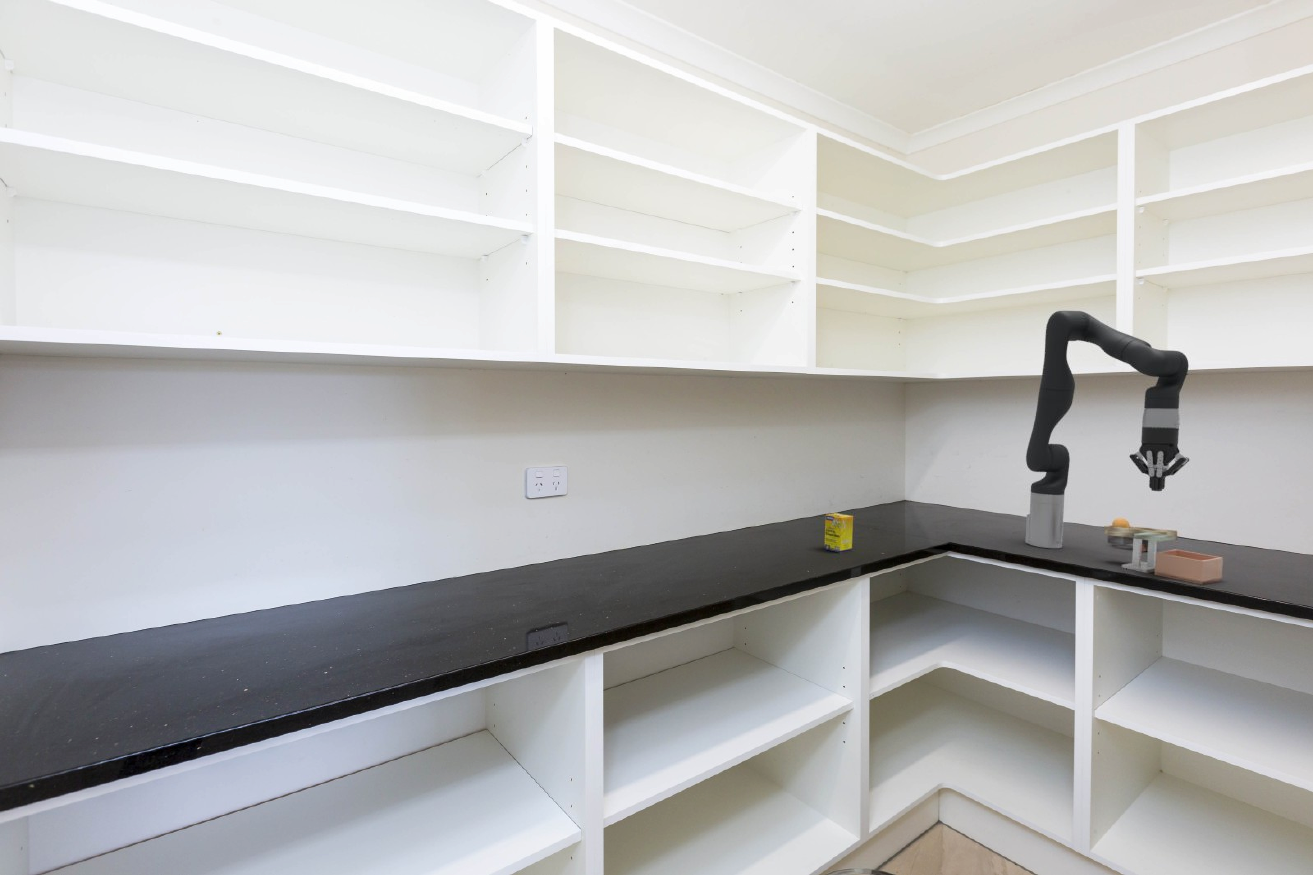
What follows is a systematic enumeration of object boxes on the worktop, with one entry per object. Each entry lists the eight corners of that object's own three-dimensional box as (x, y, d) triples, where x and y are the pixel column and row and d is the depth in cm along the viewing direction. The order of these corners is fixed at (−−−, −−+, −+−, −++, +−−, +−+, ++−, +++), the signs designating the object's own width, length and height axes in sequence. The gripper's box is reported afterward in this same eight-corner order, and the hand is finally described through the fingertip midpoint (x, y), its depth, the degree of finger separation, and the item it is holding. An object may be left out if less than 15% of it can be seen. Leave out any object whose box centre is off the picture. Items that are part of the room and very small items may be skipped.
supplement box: (824, 549, 186) (824, 514, 185) (836, 547, 189) (837, 512, 189) (840, 553, 181) (841, 517, 180) (852, 550, 184) (853, 515, 184)
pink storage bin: (1154, 574, 162) (1155, 552, 162) (1174, 570, 166) (1175, 549, 166) (1202, 584, 153) (1203, 561, 152) (1221, 580, 157) (1222, 557, 157)
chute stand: (1121, 567, 169) (1123, 531, 168) (1141, 563, 173) (1143, 528, 173) (1146, 573, 163) (1148, 535, 163) (1166, 569, 168) (1168, 532, 168)
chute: (1090, 544, 171) (1090, 528, 171) (1116, 541, 177) (1116, 524, 177) (1160, 553, 156) (1160, 535, 156) (1186, 549, 162) (1186, 531, 162)
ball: (1109, 532, 174) (1108, 518, 175) (1117, 531, 176) (1116, 517, 176) (1125, 533, 171) (1124, 519, 171) (1133, 532, 172) (1131, 518, 173)
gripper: (1123, 425, 163) (1120, 488, 164) (1183, 426, 152) (1179, 494, 152) (1138, 425, 167) (1135, 487, 168) (1198, 426, 155) (1194, 493, 156)
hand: (1156, 490), depth 160 cm, fingers closed
